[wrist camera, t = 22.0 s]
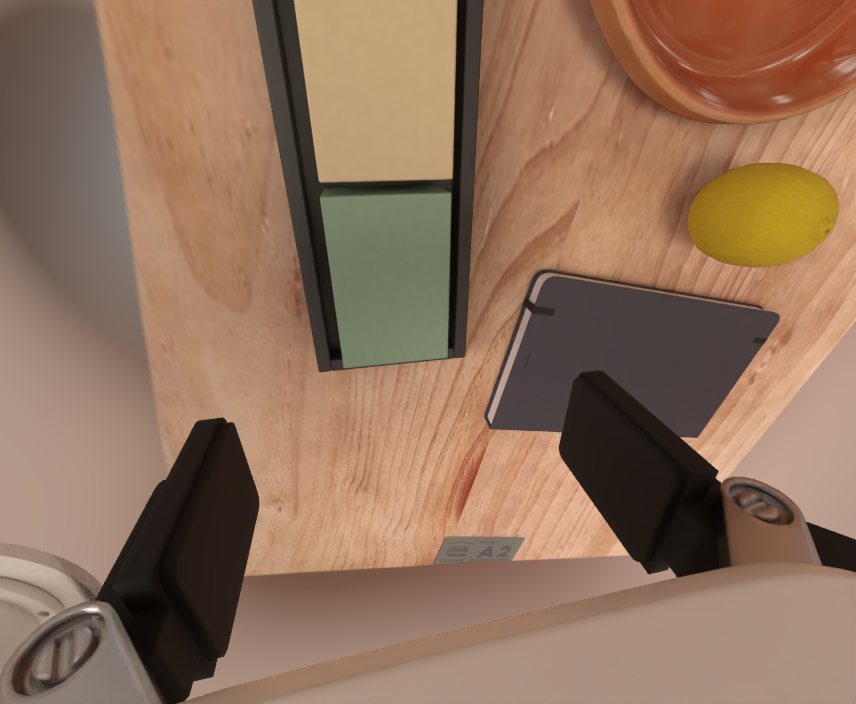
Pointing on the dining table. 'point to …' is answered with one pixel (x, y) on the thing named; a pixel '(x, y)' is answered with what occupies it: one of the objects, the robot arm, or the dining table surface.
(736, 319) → the notebook
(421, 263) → the pad
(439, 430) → the dining table surface
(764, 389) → the dining table surface
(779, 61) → the saucer
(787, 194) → the lemon
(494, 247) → the dining table surface
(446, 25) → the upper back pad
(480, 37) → the tray
